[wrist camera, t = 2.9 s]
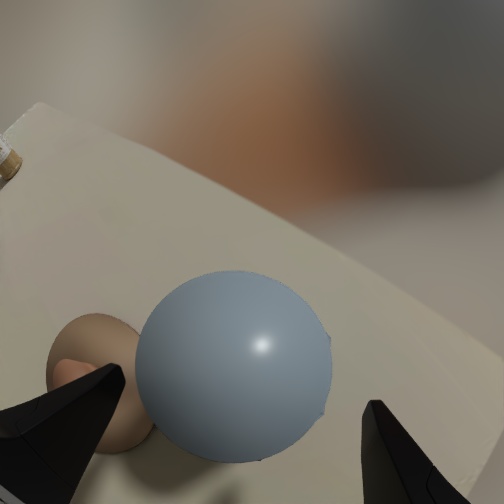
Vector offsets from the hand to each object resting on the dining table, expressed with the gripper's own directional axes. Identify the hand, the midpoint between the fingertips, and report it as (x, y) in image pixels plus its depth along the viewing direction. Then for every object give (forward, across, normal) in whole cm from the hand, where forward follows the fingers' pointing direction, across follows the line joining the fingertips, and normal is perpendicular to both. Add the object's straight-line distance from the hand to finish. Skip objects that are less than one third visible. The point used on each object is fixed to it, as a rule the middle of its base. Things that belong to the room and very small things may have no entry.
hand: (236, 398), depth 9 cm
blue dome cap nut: (+7, 0, +5) cm, 9 cm away
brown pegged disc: (+4, +12, +8) cm, 15 cm away
